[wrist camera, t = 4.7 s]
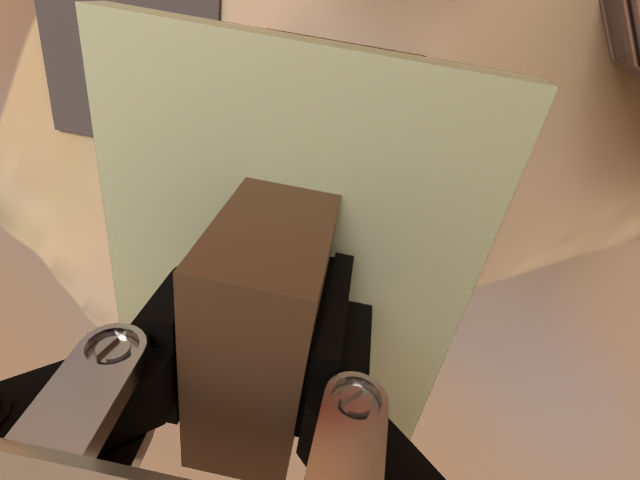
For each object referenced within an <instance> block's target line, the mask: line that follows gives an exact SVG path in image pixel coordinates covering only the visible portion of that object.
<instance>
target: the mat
mask: <svg viewBox="0 0 640 480" xmlns="http://www.w3.org/2000/svg"><path fill="white" fill-rule="evenodd" d="M75 1H110V2H116V3H121V4H127V5H133V6H139V7H144V8H150V9H156V10H161V11H167V12H173V13H178V14H184V15H190V16H196V17H201V18H207V19H213V20H218V21H220V18H221V0H34V2H35V8H36V15H37V21H38V27H39V33H40V39H41V46H42V52H43V58H44V64H45V70H46V77H47V83H48V89H49V95H50V101H51V108H52V114H53V120H54V126H55V130H60V131H65V132H71V133H76V134H82V135H87V136H92V137H94V136H93V129H92V122H91V115H90V107H89V100H88V93H87V86H86V78H85V71H84V64H83V57H82V49H81V42H80V35H79V28H78V20H77V13H76V6H75Z"/></svg>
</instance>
